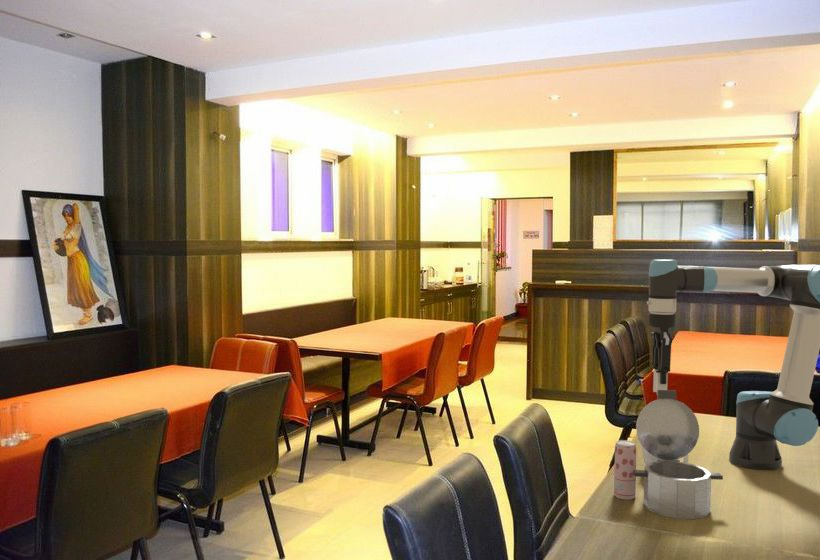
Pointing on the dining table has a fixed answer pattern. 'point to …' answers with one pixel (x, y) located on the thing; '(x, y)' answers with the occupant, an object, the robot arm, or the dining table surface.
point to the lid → (667, 427)
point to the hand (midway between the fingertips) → (660, 393)
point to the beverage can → (625, 469)
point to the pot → (677, 489)
